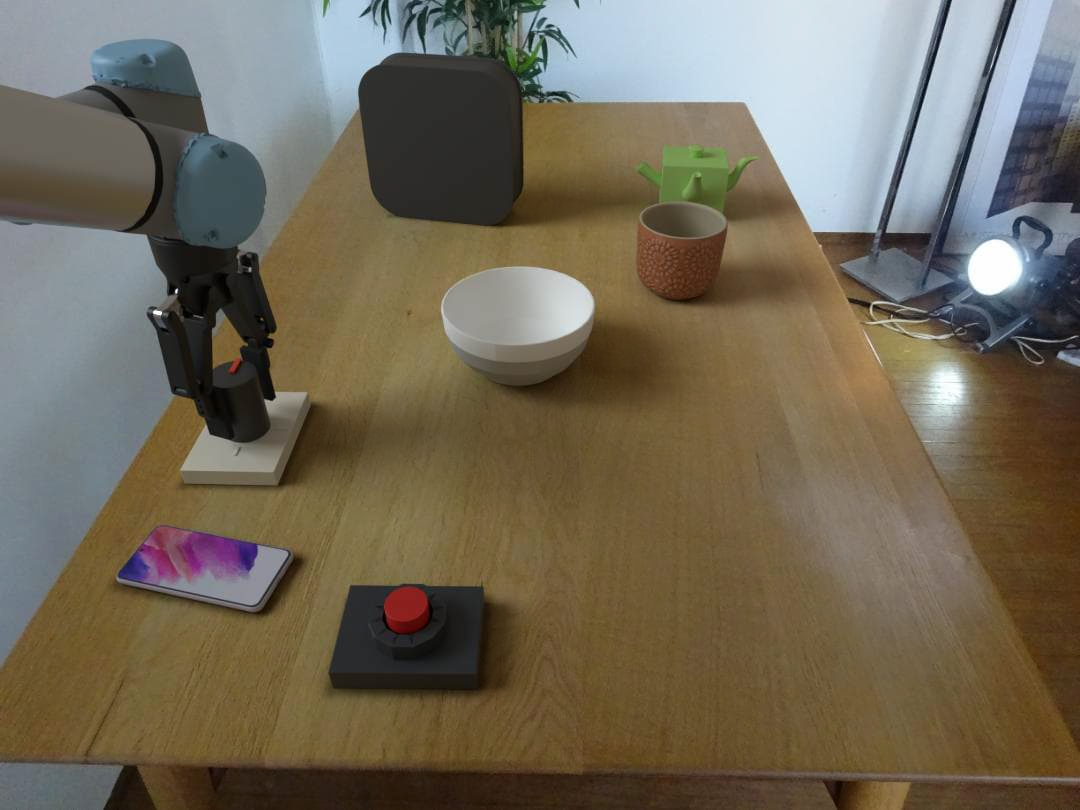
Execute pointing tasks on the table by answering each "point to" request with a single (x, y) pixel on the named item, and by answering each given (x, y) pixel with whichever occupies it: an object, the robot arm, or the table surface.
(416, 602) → the power button
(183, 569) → the smartphone
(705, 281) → the planter
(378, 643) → the switch box
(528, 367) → the bowl
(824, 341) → the table surface
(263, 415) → the dial
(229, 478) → the panel
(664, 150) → the kettle
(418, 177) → the speaker
